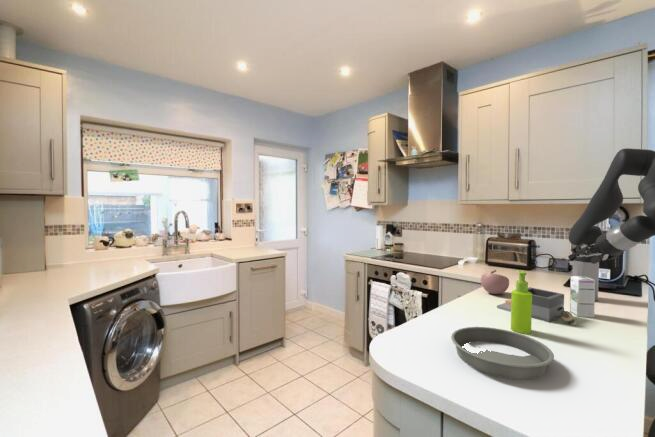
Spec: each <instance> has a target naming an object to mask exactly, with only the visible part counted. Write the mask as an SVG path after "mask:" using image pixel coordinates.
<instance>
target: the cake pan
mask: <svg viewBox="0 0 655 437" xmlns="http://www.w3.org/2000/svg"><path fill="white" fill-rule="evenodd" d="M450 338H451V341H452V343H453V344H454V345H455V349H456V354H457V355H458V357H459V358H460V360H461V361H463V363H465V364H466V363H467V365H468V366H470V367H471V368H473V369H476V370H477V371H480V372H483V373H485V374H487V375H492V376H495V377H499V376H500V377H499V378H503V377H504V379H510V380H511V379H512V380H532V379H537V378H540V377H541V376H543V375H544V374H545V372H546V369H547V366H548V365H550V364H551V363H553V361H554V358H555V354H554V353H553V351H552V349H551V348H549V347H548V346H547V345H546V344H544V343H542V342H540V341H539V340H537V339H535V338H532V337H530V336H528V335H526V334H522V333H517V332H514V331H512V330H506V329H502V328H495V327H490V326H489V327H487V326H468V327H463V328H459V329H457V330H454V331H453V332H452V333H451V336H450ZM469 342H472V343H489V344H490V343H491V344H499V345H501V346H502V345H503V346H506V347H507V346H508V347H510V348H514V349H517V350H520V351H522V352H524V353H526V354H528V355H524V356H521V355H515V354H508V353H504V352H498V351H495V350H491V352H490V351H488V350H489V349H486V351H485V352H483V351H480V352H479V353H478V354H477V353H471V352H469V351H467V350H466V349H465V348H462V346H464V344H466V343H469ZM478 347H479V348H481V347H480V346H478ZM481 352H482V353H481Z"/></svg>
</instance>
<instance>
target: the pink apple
mask: <svg viewBox="0 0 655 437" xmlns="http://www.w3.org/2000/svg"><path fill="white" fill-rule="evenodd" d="M496 272H497V269H493V270H490V271H489V273H484V274H482V275H481V277H480V284H481V286H482V288H483V289H484V290H485V291H486V292H487V293H489V294H492V295H500V294H503V293H506V291H507V290H508V288H509V286H510V279H509V278H508V277H507V276H504V275H501V274H498V273H496Z"/></svg>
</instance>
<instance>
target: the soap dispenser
mask: <svg viewBox="0 0 655 437" xmlns="http://www.w3.org/2000/svg"><path fill="white" fill-rule="evenodd" d="M515 272H516V273H518V274H519V275H518V280H516V281H515V289H512V290H511V298H510V300H511V312H510V331H512V332H516V333H519V334H522V335H528V334H531V333H532V319H533V318H532V293H531V292H528V288H529V282H528V281H526V276H527V272H526V271H525V270H516V271H515Z"/></svg>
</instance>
